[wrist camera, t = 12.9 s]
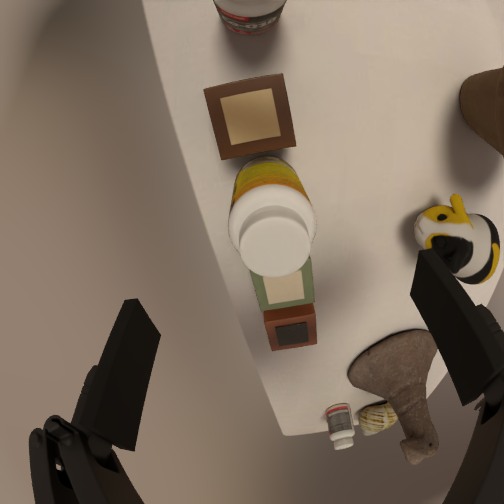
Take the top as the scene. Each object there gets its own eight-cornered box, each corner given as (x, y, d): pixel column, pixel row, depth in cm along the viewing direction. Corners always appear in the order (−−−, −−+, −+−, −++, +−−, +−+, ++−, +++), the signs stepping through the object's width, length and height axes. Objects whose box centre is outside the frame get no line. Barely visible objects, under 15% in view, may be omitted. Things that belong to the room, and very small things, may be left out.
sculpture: (372, 327, 34) (414, 459, 17) (451, 323, 35) (496, 420, 19) (334, 386, 43) (350, 486, 27) (406, 378, 44) (431, 461, 28)
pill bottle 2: (320, 410, 50) (326, 450, 42) (340, 401, 48) (348, 442, 39) (334, 414, 52) (340, 450, 44) (353, 405, 50) (361, 443, 41)
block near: (213, 89, 19) (202, 89, 14) (276, 77, 18) (282, 73, 14) (227, 145, 21) (221, 161, 17) (287, 134, 21) (296, 146, 16)
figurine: (420, 169, 22) (470, 203, 15) (490, 218, 24) (527, 252, 18) (384, 237, 26) (418, 287, 19) (459, 268, 29) (489, 308, 22)
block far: (249, 237, 26) (249, 270, 22) (301, 228, 26) (311, 259, 21) (259, 277, 29) (260, 312, 25) (306, 269, 28) (315, 303, 24)
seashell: (409, 396, 49) (404, 435, 44) (378, 398, 57) (373, 433, 52) (387, 395, 46) (380, 439, 41) (354, 396, 53) (348, 436, 48)
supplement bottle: (227, 162, 22) (210, 215, 14) (292, 148, 21) (320, 193, 13) (243, 219, 25) (238, 295, 17) (302, 207, 24) (329, 279, 16)
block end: (262, 288, 30) (263, 323, 25) (307, 280, 29) (315, 315, 25) (269, 318, 32) (271, 352, 28) (310, 311, 32) (317, 345, 28)
